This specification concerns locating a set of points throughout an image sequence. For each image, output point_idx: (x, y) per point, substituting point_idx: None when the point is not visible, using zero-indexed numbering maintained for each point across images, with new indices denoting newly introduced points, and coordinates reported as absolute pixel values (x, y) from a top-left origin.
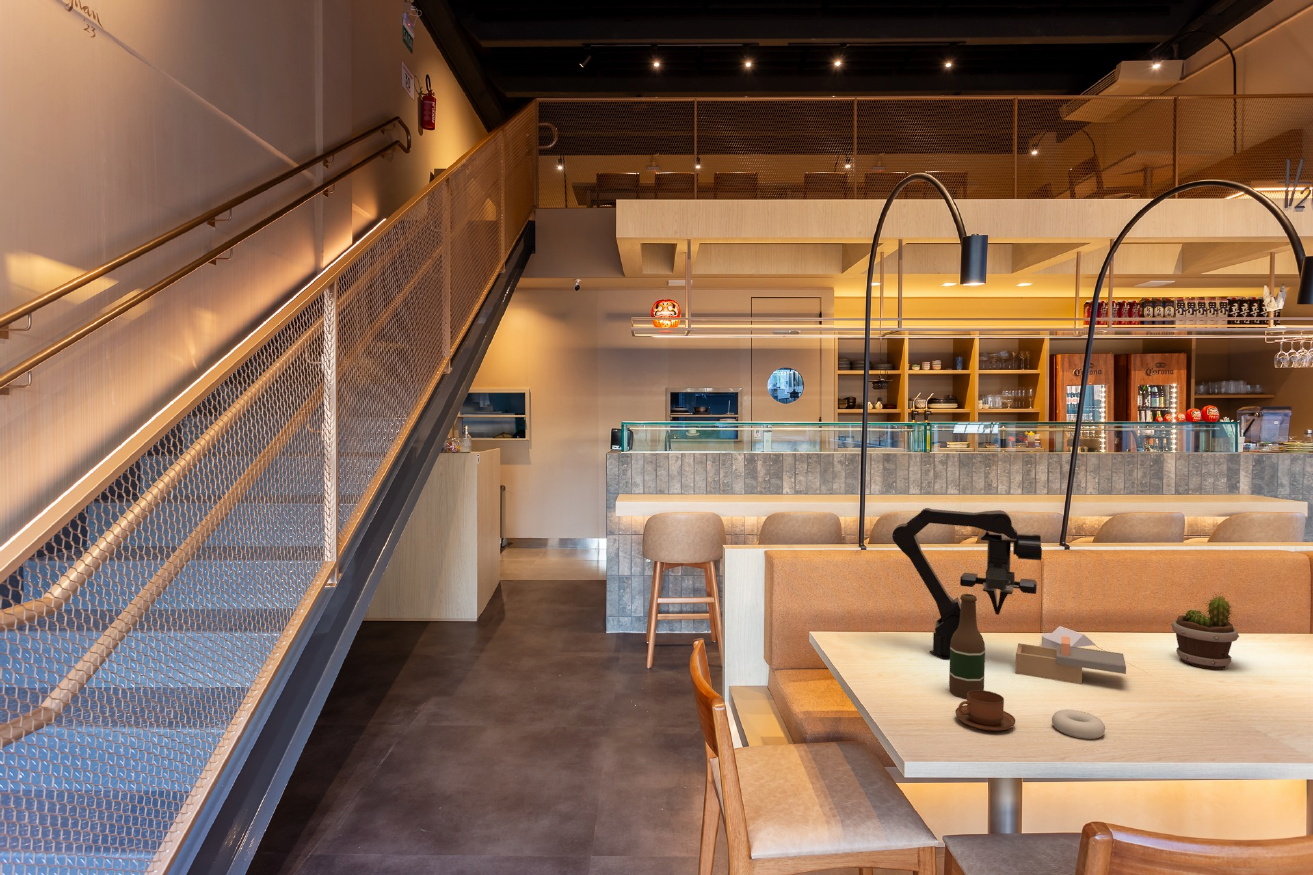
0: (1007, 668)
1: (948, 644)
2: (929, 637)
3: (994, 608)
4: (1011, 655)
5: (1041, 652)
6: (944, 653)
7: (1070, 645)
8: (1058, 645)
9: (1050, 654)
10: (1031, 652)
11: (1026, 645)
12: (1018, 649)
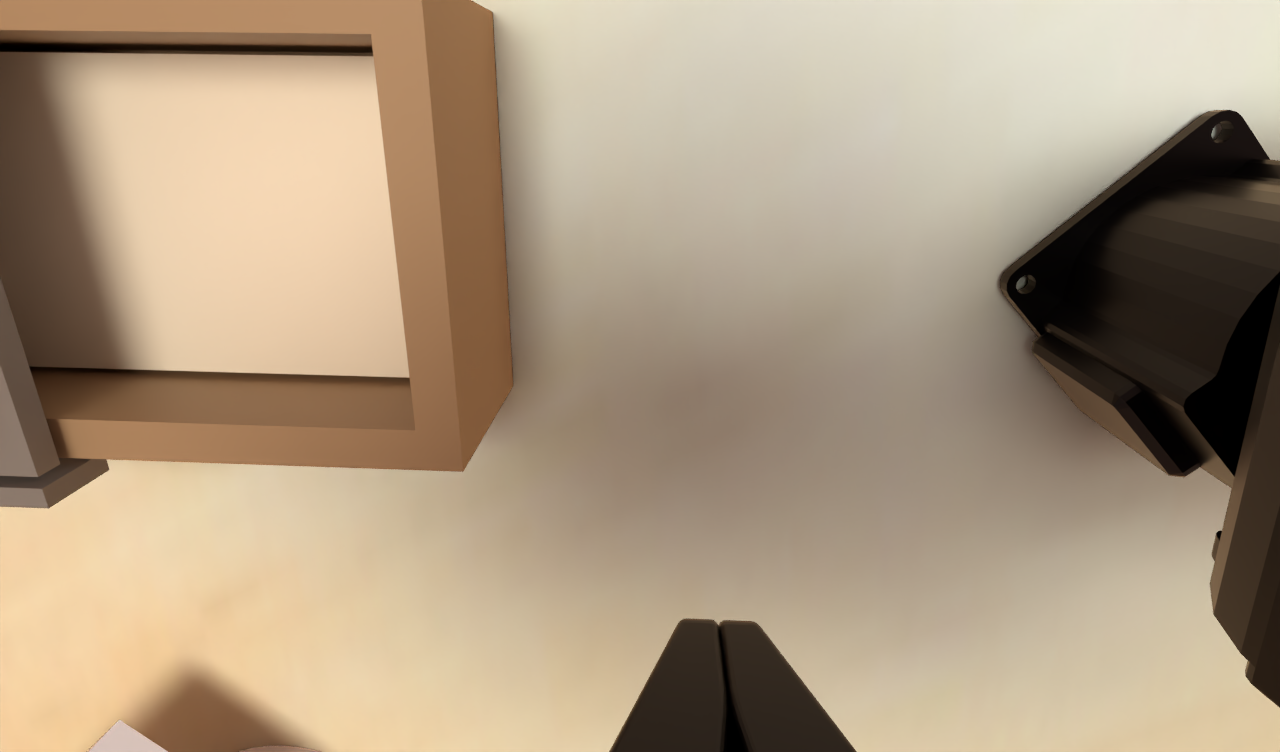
0: (579, 151)
1: (1274, 197)
2: (1233, 721)
3: (816, 717)
4: (580, 549)
5: (247, 400)
6: (1230, 178)
7: (116, 746)
8: (23, 475)
9: (167, 395)
10: (350, 398)
11: (370, 427)
12: (421, 200)
